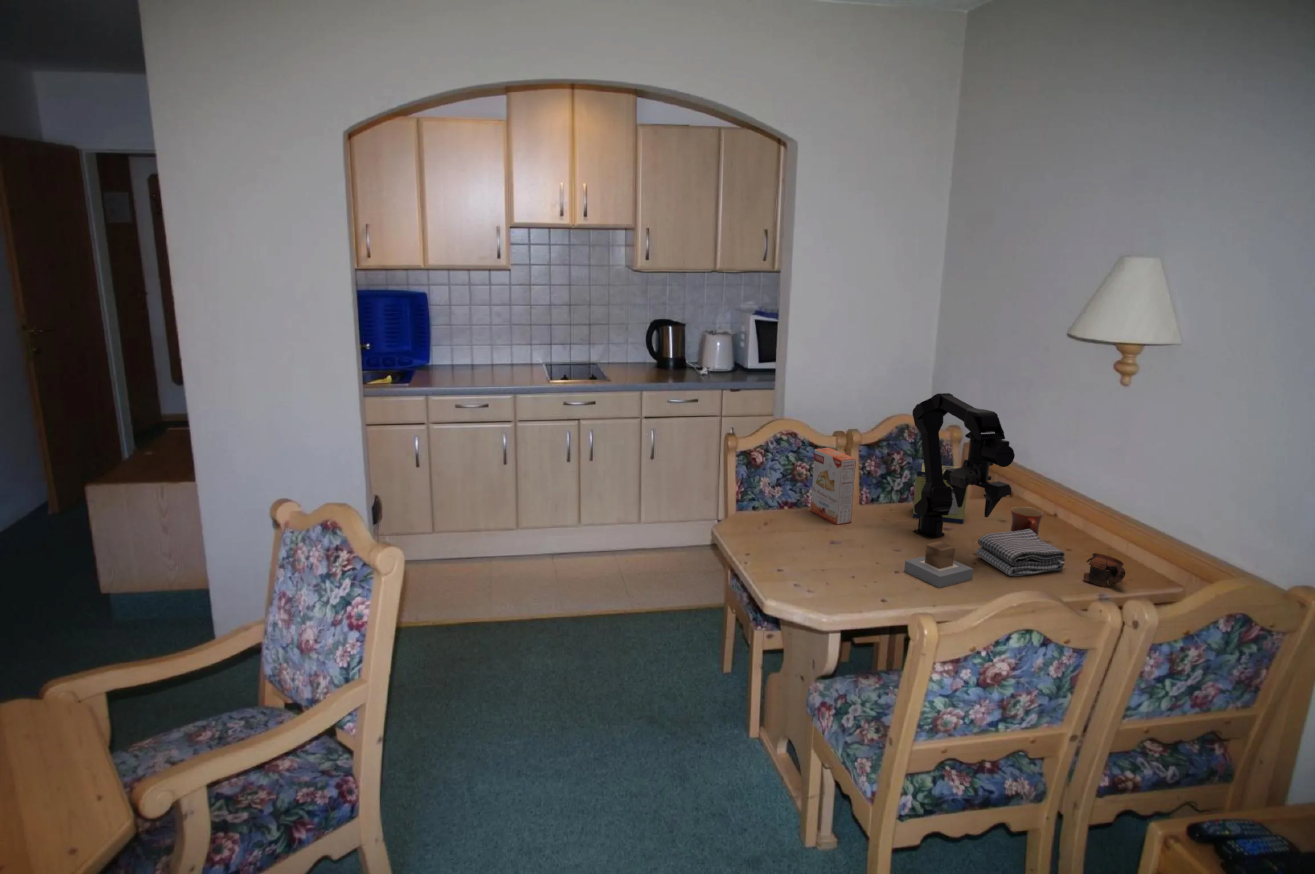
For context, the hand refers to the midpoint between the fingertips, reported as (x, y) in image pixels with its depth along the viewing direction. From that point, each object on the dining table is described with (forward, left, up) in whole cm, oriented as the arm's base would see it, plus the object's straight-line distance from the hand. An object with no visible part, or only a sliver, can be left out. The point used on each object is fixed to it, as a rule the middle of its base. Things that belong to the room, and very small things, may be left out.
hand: (972, 512), depth 233 cm
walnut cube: (+6, -18, -10) cm, 21 cm away
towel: (+11, +8, -14) cm, 19 cm away
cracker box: (-43, -13, -13) cm, 47 cm away
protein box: (-29, +19, -13) cm, 37 cm away
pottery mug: (+29, +18, -13) cm, 37 cm away
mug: (+2, +21, -13) cm, 25 cm away
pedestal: (+6, -18, -13) cm, 23 cm away
